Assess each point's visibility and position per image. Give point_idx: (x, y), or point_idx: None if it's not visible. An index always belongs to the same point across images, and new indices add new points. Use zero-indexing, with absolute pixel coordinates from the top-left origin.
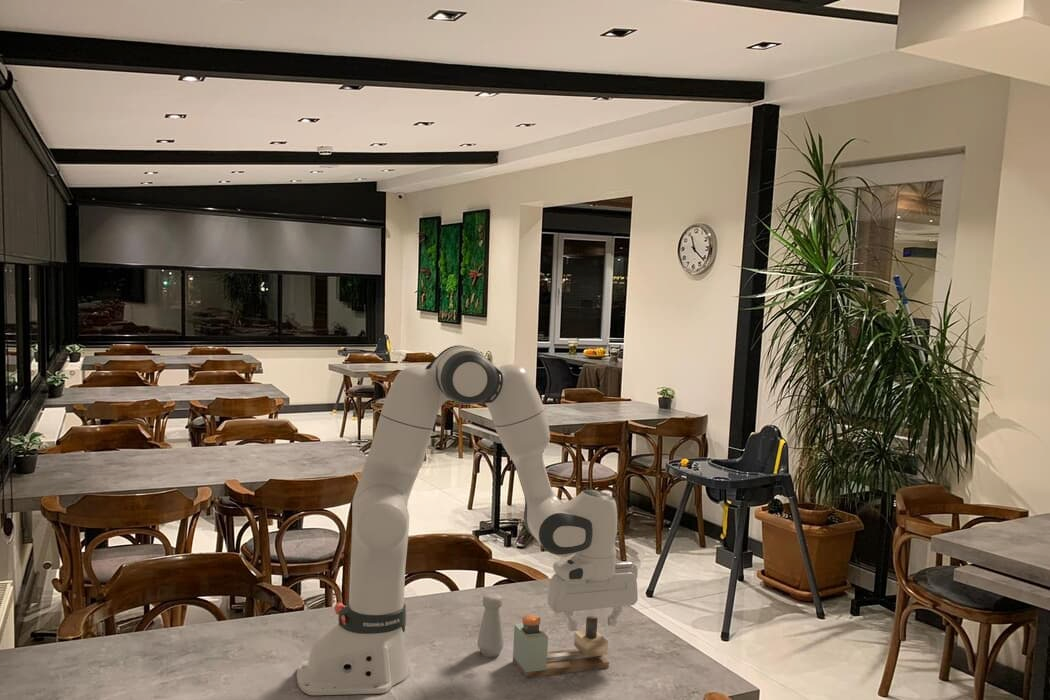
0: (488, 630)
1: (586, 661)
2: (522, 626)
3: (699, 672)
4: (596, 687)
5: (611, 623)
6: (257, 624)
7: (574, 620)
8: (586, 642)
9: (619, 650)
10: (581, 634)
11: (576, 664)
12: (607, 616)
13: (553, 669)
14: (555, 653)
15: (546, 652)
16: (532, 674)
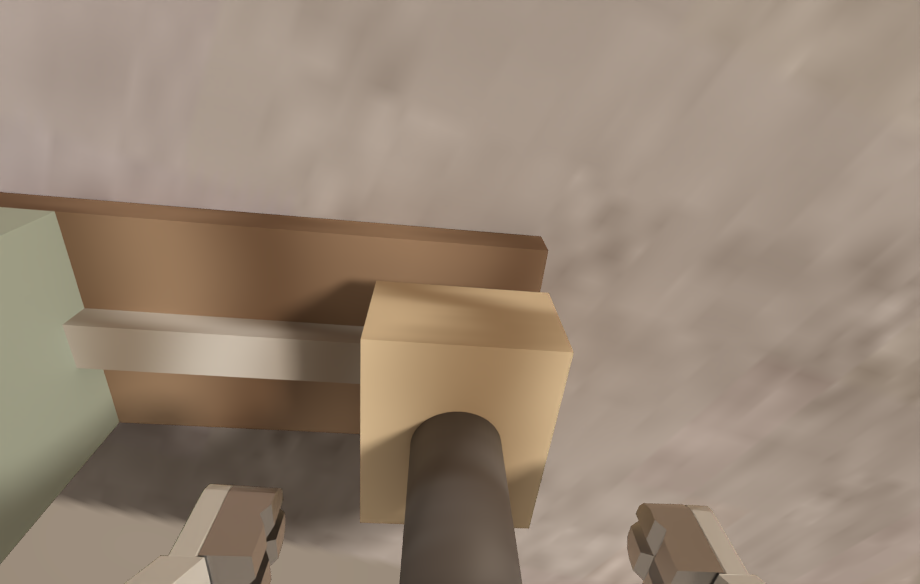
0: None
1: None
2: None
3: (841, 540)
4: (350, 532)
5: (645, 575)
6: None
7: (250, 572)
8: (367, 510)
9: (714, 268)
10: (394, 403)
11: (318, 416)
12: (675, 572)
13: (166, 422)
14: (198, 334)
15: (38, 510)
16: None
